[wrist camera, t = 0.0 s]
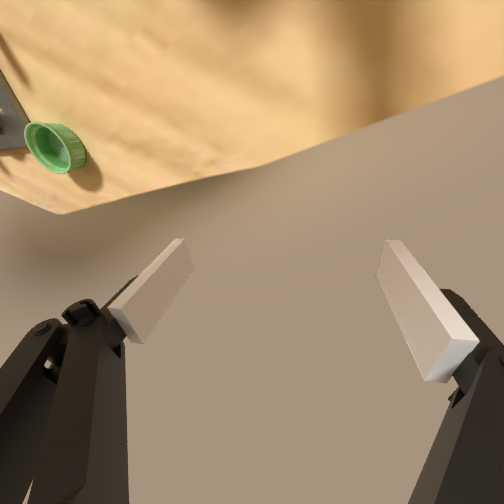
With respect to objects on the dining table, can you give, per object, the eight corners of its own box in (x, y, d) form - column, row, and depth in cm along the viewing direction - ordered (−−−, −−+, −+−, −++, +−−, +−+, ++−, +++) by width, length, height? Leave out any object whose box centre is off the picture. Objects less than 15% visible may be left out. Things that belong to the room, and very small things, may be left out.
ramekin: (55, 162, 46) (34, 166, 42) (40, 115, 41) (15, 115, 37) (93, 174, 46) (75, 179, 42) (83, 128, 40) (62, 129, 37)
